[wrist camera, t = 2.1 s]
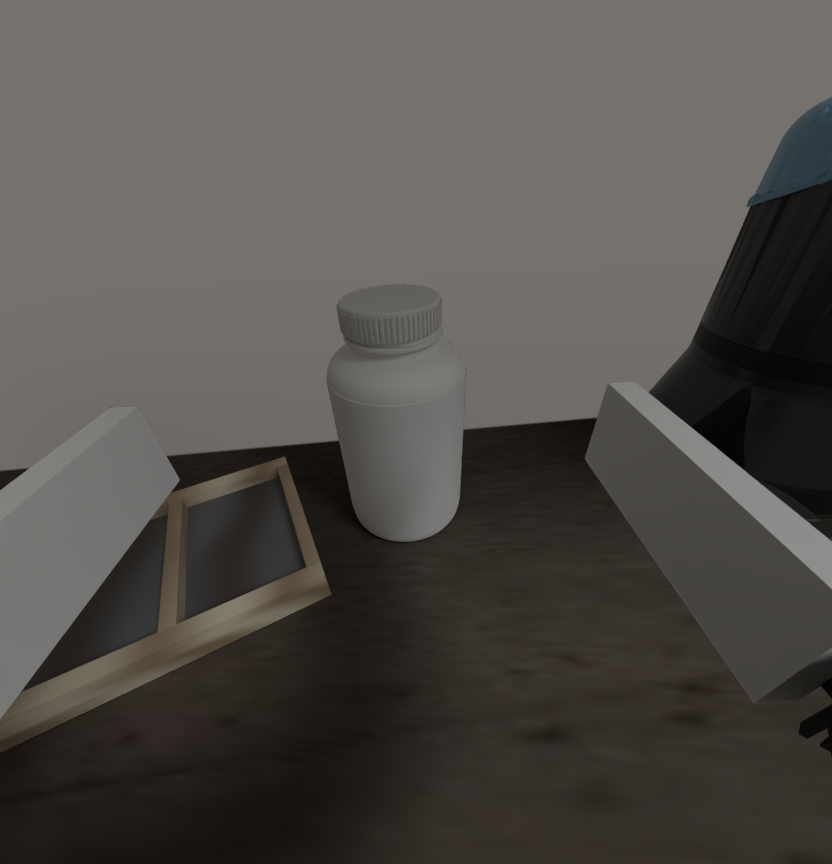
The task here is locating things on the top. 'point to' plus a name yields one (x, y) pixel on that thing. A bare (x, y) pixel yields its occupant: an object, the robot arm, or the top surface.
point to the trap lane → (179, 595)
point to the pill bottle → (398, 410)
